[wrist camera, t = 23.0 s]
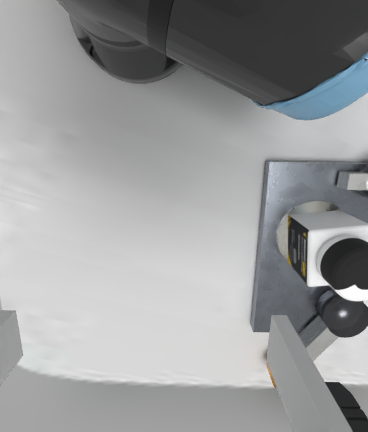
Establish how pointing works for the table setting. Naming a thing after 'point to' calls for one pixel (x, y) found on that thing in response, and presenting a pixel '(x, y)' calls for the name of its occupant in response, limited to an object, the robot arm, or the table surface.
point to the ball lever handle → (332, 323)
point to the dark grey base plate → (278, 236)
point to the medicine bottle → (330, 251)
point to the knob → (355, 180)
